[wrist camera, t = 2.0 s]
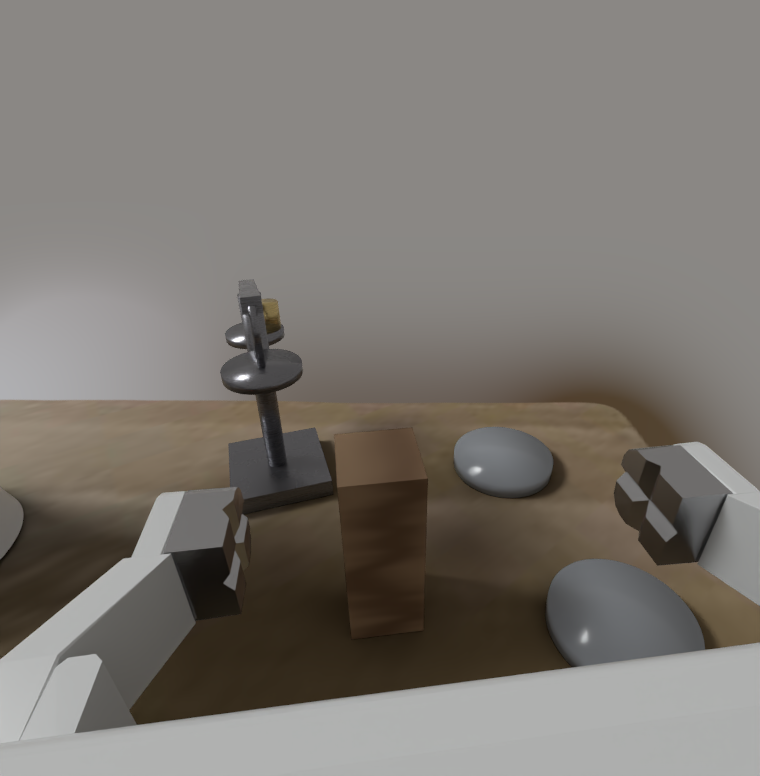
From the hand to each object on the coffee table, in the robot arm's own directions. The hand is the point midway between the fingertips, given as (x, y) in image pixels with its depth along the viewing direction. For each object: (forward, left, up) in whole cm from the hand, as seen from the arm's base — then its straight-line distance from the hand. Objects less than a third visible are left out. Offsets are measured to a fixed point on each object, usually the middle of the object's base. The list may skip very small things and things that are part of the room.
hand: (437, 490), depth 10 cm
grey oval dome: (+15, +6, -21) cm, 26 cm away
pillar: (+2, +12, -21) cm, 24 cm away
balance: (-3, +27, -21) cm, 34 cm away
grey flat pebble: (+16, +22, -21) cm, 34 cm away
